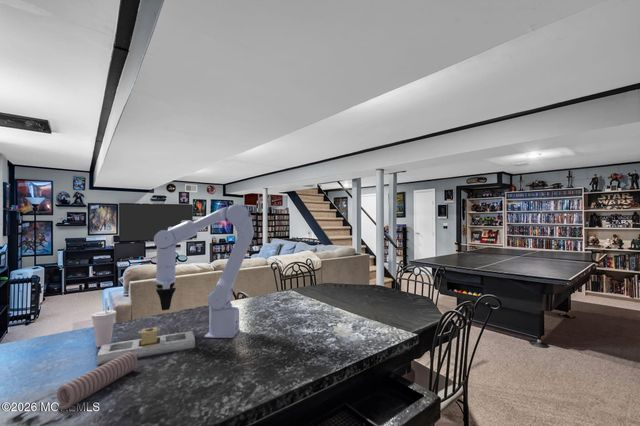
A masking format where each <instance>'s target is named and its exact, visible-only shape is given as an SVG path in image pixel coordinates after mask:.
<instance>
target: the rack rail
mask: <svg viewBox="0 0 640 426" xmlns="http://www.w3.org/2000/svg"><path fill="white" fill-rule="evenodd" d="M195 347H196V339H195V335H194V332H193V330H189V331H188V330H187V331H182V332H176V333H170V334H164V335H157V344H152V345H146V346H141V338H137V339H131V340H125V341H118V342H111V344H104V345H102V346H101V347H99V348H100V349H99V350H98V352H97V355H96V356H97V357H96V358H97V359H96V365H97V366H98V365H104V364H105V363H108V362H109V361H112V360H113V359H116V358H117V357H119V356H122V355H123V354H126V353H127V352H132V353H134V354H135V355H136V357H137V359H138V358H143V357H148V356H153V355H154V356H155V355H160V354H165V353H171V352H177V351H182V350H187V349H193V348H195Z"/></svg>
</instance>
